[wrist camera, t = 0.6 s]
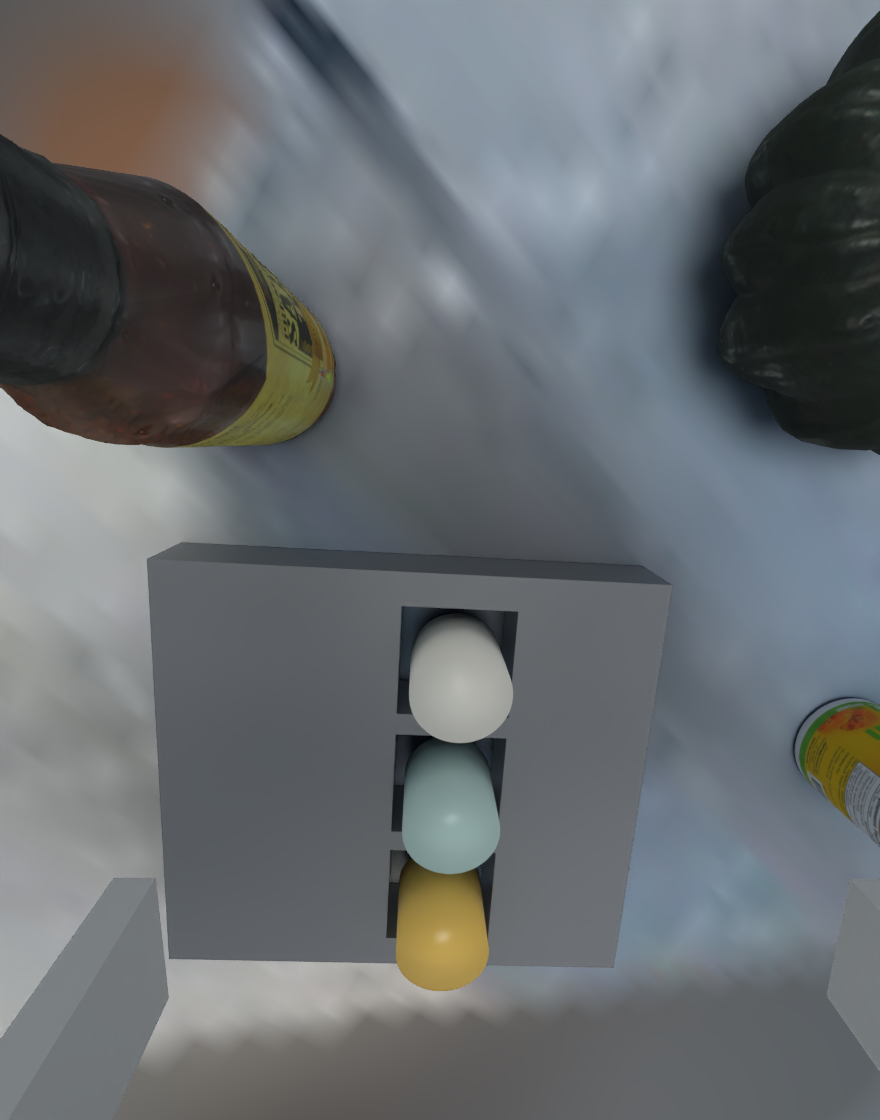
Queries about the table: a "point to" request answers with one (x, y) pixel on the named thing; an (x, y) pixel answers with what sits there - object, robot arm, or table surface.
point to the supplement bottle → (845, 759)
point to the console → (390, 747)
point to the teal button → (449, 807)
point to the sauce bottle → (146, 315)
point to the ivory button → (458, 679)
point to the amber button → (440, 928)
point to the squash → (814, 261)
